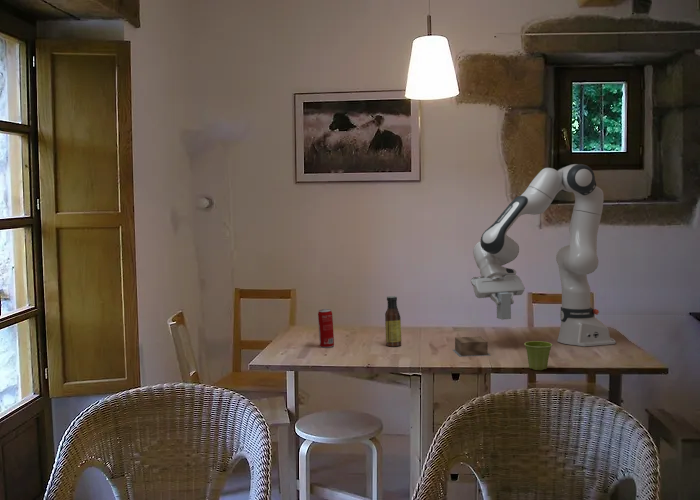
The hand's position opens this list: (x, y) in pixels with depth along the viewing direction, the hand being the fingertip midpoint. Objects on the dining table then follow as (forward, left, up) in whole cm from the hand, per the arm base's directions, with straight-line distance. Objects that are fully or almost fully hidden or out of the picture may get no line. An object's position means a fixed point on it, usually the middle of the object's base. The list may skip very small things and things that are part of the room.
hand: (505, 303), depth 284 cm
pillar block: (0, -1, -6) cm, 6 cm away
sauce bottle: (+41, -15, -18) cm, 48 cm away
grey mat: (+14, +4, -18) cm, 23 cm away
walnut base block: (+14, +4, -18) cm, 23 cm away
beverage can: (+68, -17, -18) cm, 73 cm away
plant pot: (-3, +30, -18) cm, 35 cm away
